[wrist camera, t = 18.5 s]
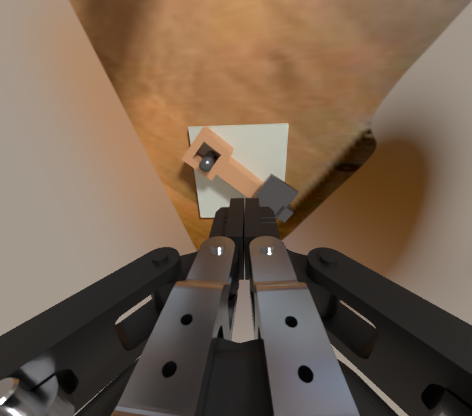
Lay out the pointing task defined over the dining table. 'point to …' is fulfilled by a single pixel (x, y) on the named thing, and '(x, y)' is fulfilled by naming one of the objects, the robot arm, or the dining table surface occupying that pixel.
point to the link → (222, 163)
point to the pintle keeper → (264, 190)
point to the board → (241, 160)
